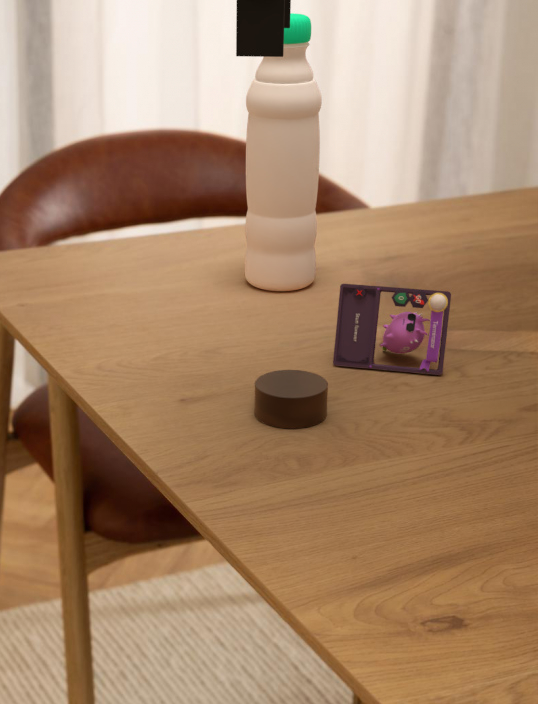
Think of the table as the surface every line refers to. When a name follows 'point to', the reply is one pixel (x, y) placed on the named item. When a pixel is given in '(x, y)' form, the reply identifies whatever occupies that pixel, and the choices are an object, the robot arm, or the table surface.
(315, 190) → the water bottle
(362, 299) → the game card
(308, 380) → the brown wooden puck
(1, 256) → the table surface
